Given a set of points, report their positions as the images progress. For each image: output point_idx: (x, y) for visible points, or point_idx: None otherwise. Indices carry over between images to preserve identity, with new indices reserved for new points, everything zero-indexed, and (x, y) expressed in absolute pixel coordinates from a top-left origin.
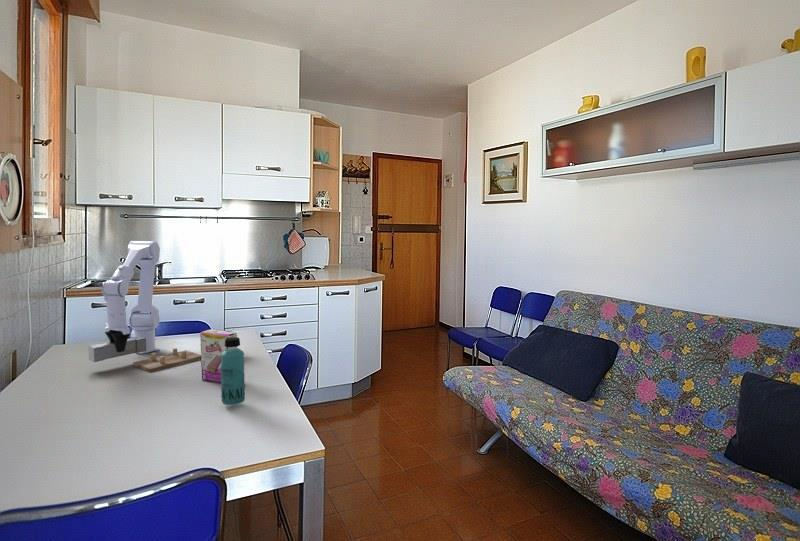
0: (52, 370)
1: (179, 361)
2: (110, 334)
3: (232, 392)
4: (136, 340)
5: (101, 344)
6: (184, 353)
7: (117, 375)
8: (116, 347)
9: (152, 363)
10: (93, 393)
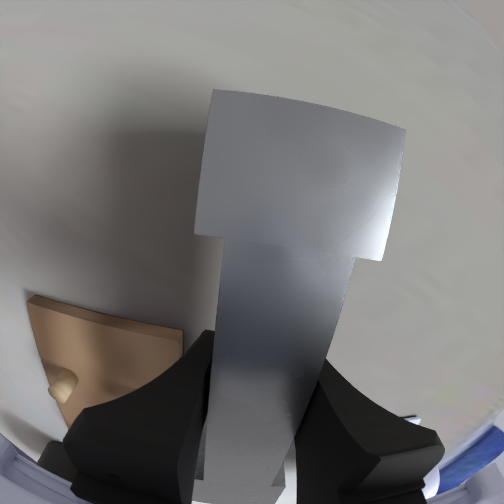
0: (469, 81)
1: (57, 403)
2: (341, 458)
3: None
4: (196, 473)
5: (316, 266)
6: None
7: (85, 186)
8: (208, 350)
9: (90, 361)
10: (5, 43)
